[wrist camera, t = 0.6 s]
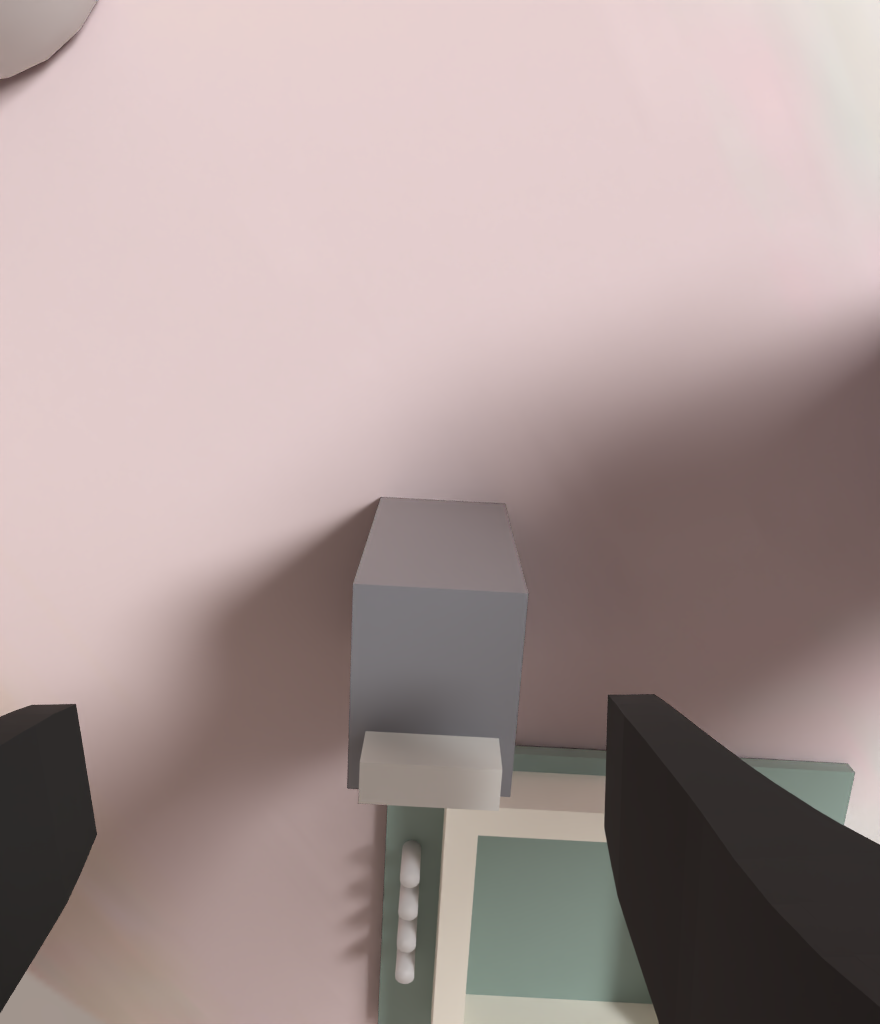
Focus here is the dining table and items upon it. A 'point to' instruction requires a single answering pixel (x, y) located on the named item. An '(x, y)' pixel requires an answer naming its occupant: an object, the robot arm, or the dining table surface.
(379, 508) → the plug
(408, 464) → the dining table surface
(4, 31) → the cup
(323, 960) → the dining table surface
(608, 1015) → the board
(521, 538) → the dining table surface
